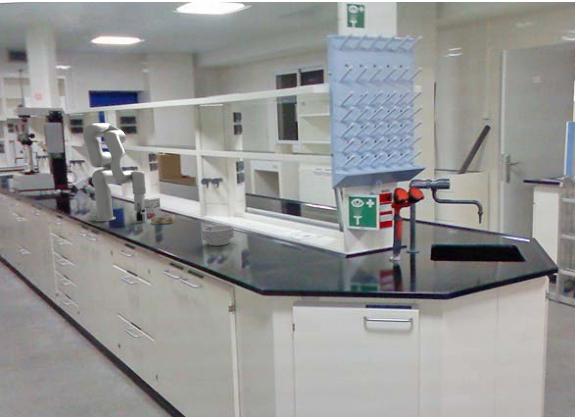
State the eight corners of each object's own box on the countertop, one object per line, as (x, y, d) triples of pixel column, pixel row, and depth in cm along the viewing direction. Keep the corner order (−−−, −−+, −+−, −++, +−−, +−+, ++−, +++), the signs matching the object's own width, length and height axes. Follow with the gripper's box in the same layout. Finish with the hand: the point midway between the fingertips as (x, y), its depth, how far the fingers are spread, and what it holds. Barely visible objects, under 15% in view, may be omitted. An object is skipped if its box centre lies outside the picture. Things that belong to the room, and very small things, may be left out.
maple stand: (151, 224, 331) (151, 218, 330) (155, 220, 342) (155, 215, 342) (172, 223, 331) (171, 217, 331) (175, 219, 343) (174, 214, 342)
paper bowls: (203, 241, 279) (203, 225, 278) (234, 239, 280) (233, 224, 279) (201, 248, 264) (200, 231, 263) (233, 246, 265) (233, 230, 264)
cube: (136, 222, 337) (135, 213, 336) (138, 221, 343) (137, 212, 342) (145, 222, 338) (144, 213, 337) (147, 220, 343) (146, 212, 342)
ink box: (150, 218, 352) (149, 199, 350) (145, 217, 355) (144, 199, 353) (161, 215, 359) (160, 197, 357) (156, 215, 362) (155, 197, 360)
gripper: (136, 189, 346) (138, 217, 348) (129, 193, 328) (131, 222, 331) (148, 189, 346) (150, 216, 349) (142, 193, 329) (144, 221, 332)
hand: (141, 219), depth 340 cm, fingers open, 8 cm apart
